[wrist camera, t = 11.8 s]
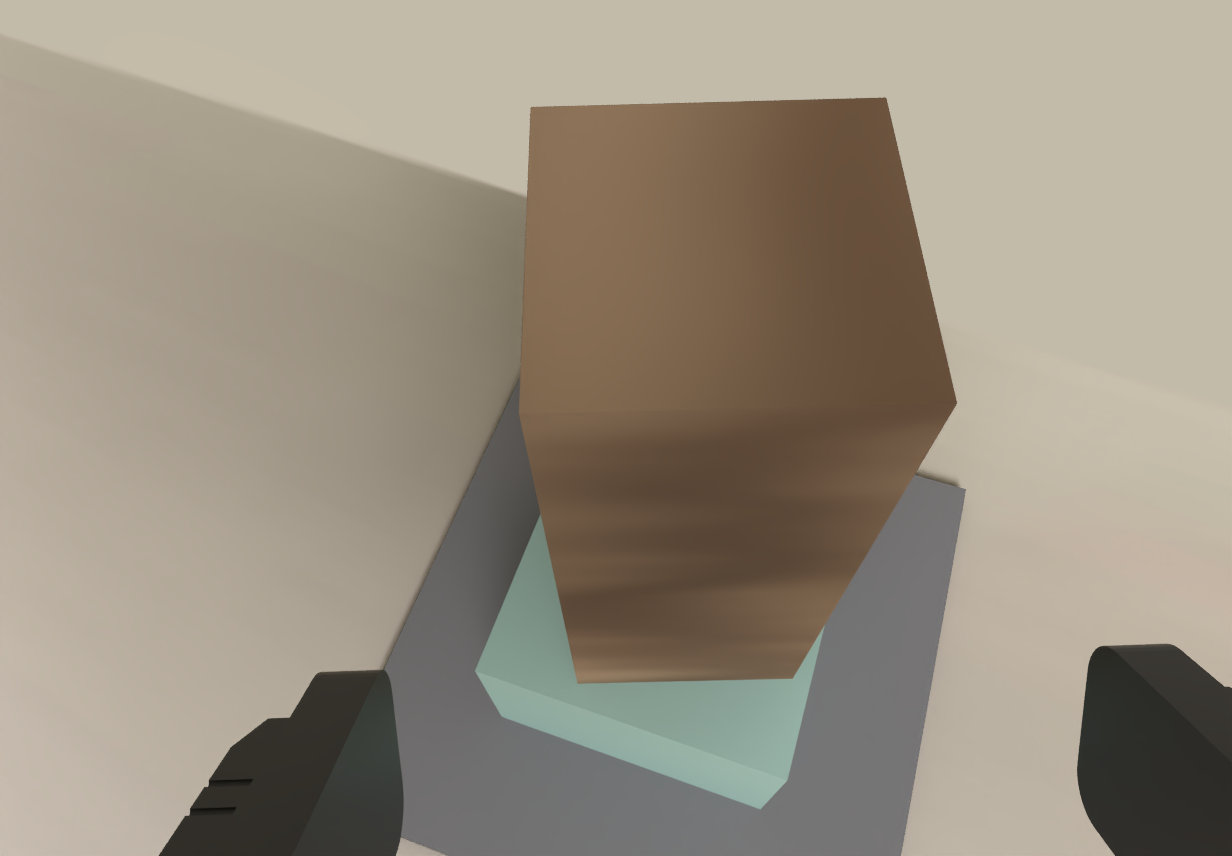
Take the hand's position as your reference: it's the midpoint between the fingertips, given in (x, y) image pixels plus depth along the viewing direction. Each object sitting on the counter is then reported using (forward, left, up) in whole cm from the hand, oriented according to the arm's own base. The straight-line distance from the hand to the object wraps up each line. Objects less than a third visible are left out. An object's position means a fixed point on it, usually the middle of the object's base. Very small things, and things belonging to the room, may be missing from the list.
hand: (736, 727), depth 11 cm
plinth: (-2, +4, -10) cm, 11 cm away
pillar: (-2, +4, -6) cm, 8 cm away
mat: (-2, +4, -11) cm, 11 cm away
